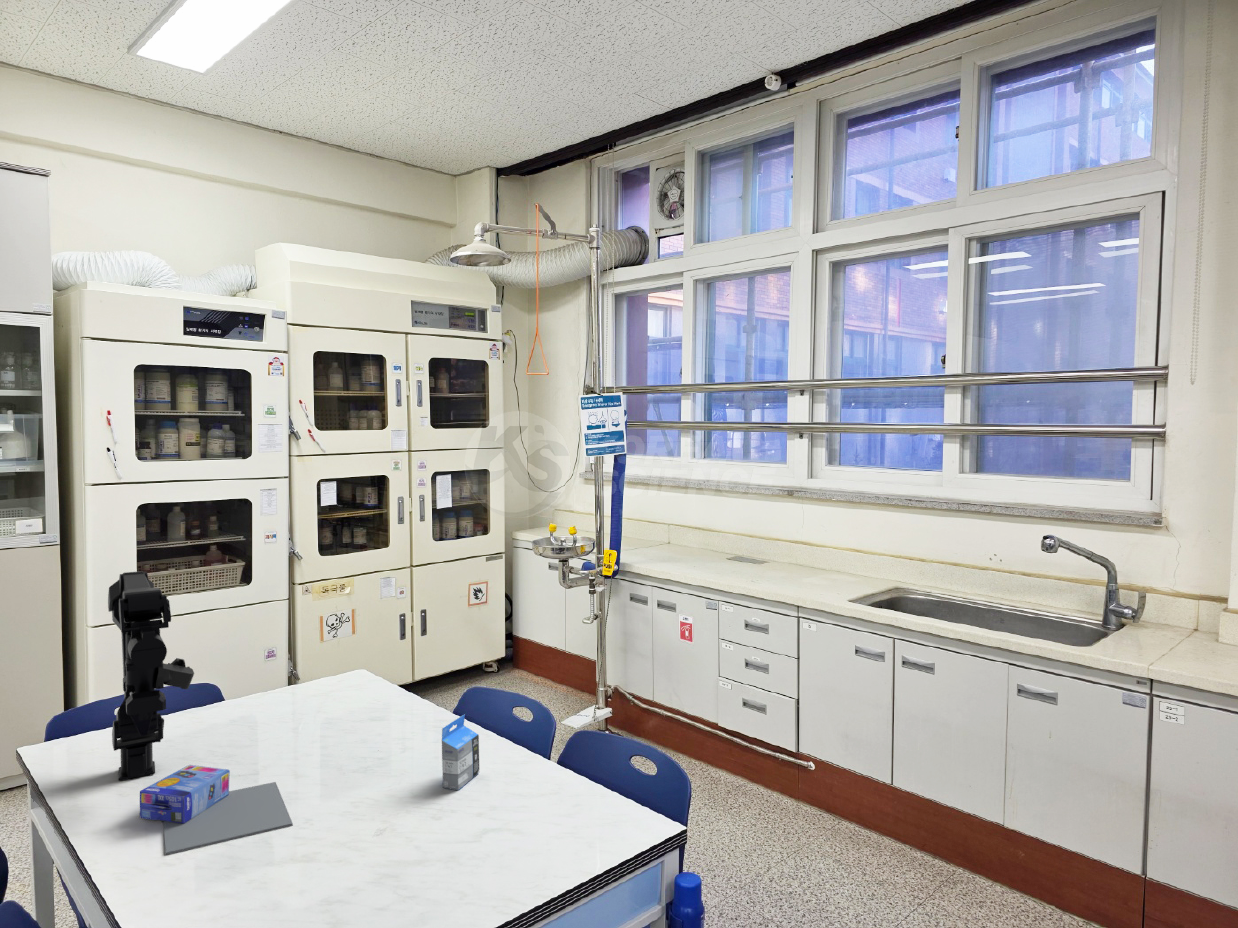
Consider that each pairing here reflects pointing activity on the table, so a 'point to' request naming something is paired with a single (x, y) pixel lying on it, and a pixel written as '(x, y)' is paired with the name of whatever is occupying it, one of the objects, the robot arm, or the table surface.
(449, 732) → the label tape box
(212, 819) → the charcoal mat
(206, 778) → the ink cartridge box
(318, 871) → the table surface
